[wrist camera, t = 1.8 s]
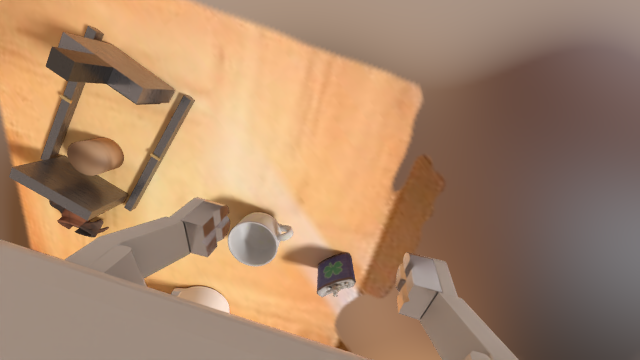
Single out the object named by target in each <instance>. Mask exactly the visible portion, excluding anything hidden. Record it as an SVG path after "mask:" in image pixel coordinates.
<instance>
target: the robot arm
mask: <svg viewBox="0 0 640 360" xmlns="http://www.w3.org/2000/svg"><path fill="white" fill-rule="evenodd" d="M228 213H229V208H228V206H227V205H224V204H220V203H217V202H213V201H210V200H205V199H202V198H199V197H197V198H194V199H192V200H191V201H190V202H188V203H187V204H186V205H184V206H183V207H182V208H181V209H179V210H178V211H177V212H175V213H174V214H173V215H172V216H170V217H163V218H160V219H157V220H153V221H150V222H147V223H143V224H140V225H137V226H134V227H130V228H127V229H124V230H120V231H117V232H114V233H110V234H107V235H104V236H101V237H98V238H97V239H95V240H94V241H92V242H91V243H89V244H88V245H86V246H85V247H83V248H82V249H80V250H79V251H77V252H76V253H74V254H73V255H71V256H69V257H68V258H66V259H65V260H63V259H60V258H57V257H53V256H50V255H47V254H44V253H41V252H38V251H35V250H32V249H29V248H25V247H22V246H19V245H16V244H13V243H10V242H7V241H4V240H1V239H0V360H372V359H369V358H366V357H363V356H360V355H357V354H354V353H350V352H347V351H344V350H341V349H338V348H335V347H332V346H329V345H326V344H323V343H319V342H316V341H313V340H310V339H307V338H304V337H301V336H298V335H295V334H292V333H289V332H286V331H282V330H279V329H276V328H273V327H270V326H267V325H264V324H261V323H258V322H255V321H252V320H248V319H245V318H242V317H239V316H236V315H233V314H230V310H229V304H228V302H227V300H226V299H225V298H224V296H223V295H221V294H220V293H219V292H217V291H215V290H213V289H211V288H208V287H203V286H194V287H189V288H175V289H173V291H172V293H171V294H168V293H165V292H162V291H159V290H156V289H153V288H149V287H147V285H146V283H145V280H144V278H146V277H147V276H149V275H151V274H153V273H155V272H157V271H159V270H161V269H162V268H164V267H166V266H168V265H170V264H172V263H174V262H175V261H177V260H179V259H181V258H183V257H185V256H187V255H188V254H190V253H194V254H197V255H201V256H205V257H208V256H209V255H210V254H211V253H212V252H213V251H214V249H215V248H216V247H217V242H218V241H220V240H222V239H224V237H225V236H226V235H227V233H228V231H229V228H230V219H229V218H228V217H227V214H228ZM403 262H404V264H402V265H400V266H399V269H398V271H397V276H396V288H397V290H398V291H399V292H400V293H399V295H398V297H397V304H398V313H399V314H402V315H406V316H409V317H412V318H415V319H418V320H420V322H421V324H422V326H423V328H424V329H425V331H426V333H427V334H428V336H429V338H430V340H431V341H432V343H433V345H434V346H435V348H436V350H437V352H438V353H439V355H440V357H441V358H442V360H518V359H517V358H516V357H515V355H514V354H513V353H512V352H511V351H510V350H509V349H508V348H507V347H506V346H505V345H504V344H503V342H502V341H501V340H500V339H499V338H498V337H497V336H496V335H495V334H494V333H493V332H492V330H491V329H490V328H489V327H488V326H487V325H486V324H485V323H484V322H483V321H482V320H481V319H480V318H479V316H478V315H477V314H476V313H475V312H474V311H473V310H472V309H471V308H470V307H469V306H468V305H467V303H466V302H465V301H464V300H463V299H461V298H458V296H457V293H456V290H455V287H454V284H453V281H452V278H451V275H450V272H449V269H448V266H447V263H446V262H445V261H441V260H437V259H433V258H428V257H424V256H420V255H416V254H412V253H409V252H407V253H406V254H405V255H404V258H403Z"/></svg>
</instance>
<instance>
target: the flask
mask: <svg viewBox="0 0 640 360" xmlns="http://www.w3.org/2000/svg"><path fill="white" fill-rule="evenodd" d="M317 282H318V284H317V294H318V295H319V296H321V297H324V296H326V295H328V294H330V293H332V292H333V294H334V295H333V296H338V295H336V294H338V292H339V291H340V289H344V288H350V287H353V286H354V284H355V282H356V281H355V276H354V270H353V264H352V258H351V255H350V254H349V253H341V254H337V255H334V256H332V257H330V258H328V259H326V260H324V261H322V262H321V263H319V265H318V280H317Z"/></svg>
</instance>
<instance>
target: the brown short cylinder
mask: <svg viewBox="0 0 640 360" xmlns="http://www.w3.org/2000/svg"><path fill="white" fill-rule="evenodd" d="M67 155H68V159H69V161H70V163H71V164H72V166H73V167H74V168H75V169H76V170H78V171H79V172H81V173H83V174H85V175H90V176H94V175H97V174H100V173H103V172H106V171H109V170H112V169H115V168H118V167H120V166H121V165H122V163H123V161H124V155H123V152H122V150H121V148H120V147H119V145H118V144H117V143H115V142H114V141H113V140H111V139H108V138H96V139H90V140H84V141H79V142H74V143H72V144H71V145H70V146H69V148H68V151H67Z"/></svg>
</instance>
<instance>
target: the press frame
mask: <svg viewBox="0 0 640 360" xmlns="http://www.w3.org/2000/svg"><path fill="white" fill-rule="evenodd" d="M103 35H104V34H103V33H102V32H100V31H99V30H98V29H96V28H93V27H90V26H88V28H87V30H86V33H85V36H84V37H85V38H89V39H93V40H97V41H101V40H102V38H103ZM84 85H85V82H72V81H68V84H67V86H66V89H65V92H64V95H62V94H60V97H61V98H62V100H61V103H60V106H59V109H58V112H57V114H56V117H55V120H54V123H53V126H52V128H51V131H50V134H49V137H48V140H47V143H46V145H45V148H44V151H43V154H42V157H41V159H43V160H42V161H38V162H33V163H29V164H24V165H20V166H15V167H12V170H11V173H10V176H9V177H10V178H12V179H13V180H15V181H17V182H19V183H20V184H22V185H24V186H26V187H28V188H29V189H31V190H33V191H35V192H37V193H38V194H40V195H42V196H44V197H46V198H47V199H49V200H51V201H53V202H54V203H56V204H58V205H60V206H62V207H63V208H65V209H67V210H69V211H71V212H72V213H74V214H76V215H78V216H80V217H81V218H83V219H85V220H87V221H88V220H90V219H92V218H94V217H96V216H98V215H100V214H102V213H104V212H106V211H108V210H110V209H112V208H113V207H115V206H117V205H119V204H121V203H123V202H125V200H126V198H127V196H128V194H127V193H126V192H124V191H122V190H121V189H119V188H117V187H116V186H114V185H112V184H111V183H109V182H107V181H106V180H104V179H102V178H101V177H99V176H97V175H94V176H90V175H85V174H83V173H81V172H79V171H78V170H76V169H75V168H74V167H73V166H72V164H71V163H70V161H69V159H68V157H66V156H60V157H57V156H58V153H59V150H60V148H61V145H62V142H63V140H64V137H65V135H66V132H67V129H68V127H69V124H70V121H71V119H72V116H73V114H74V111H75V108H76V106H77V103H78V100H79V98H80V95H81V93H82V90H83V87H84ZM194 101H195V100H194V99H193V98H191V97H190V96H188V95H184V96H183V98H182V100H181V102H180V104H179V106H178V107H177V109H176V111H175V113H174V115H173V117H172V119H171V121H170V123H169V124H168V126H167V128H166V130H165V132H164V134H163V136H162V138H161V139H160V141H159V143H158V145H157V147H156V149H155V151H154V153H151V154H150V156H151V158H150V160H149V162H148V164H147V166H146V168H145V170H144V171H143V173H142V175H141V177H140V179H139V181H138V183H137V185H136V187H135V188H134V190H133V192H132V194H131V196H130V198H129V200H128V202H127V203H126V205H125V207H124V208H126V209H128V210H129V211H132V210H133V209H135V208H136V206H137V205H138V203H139V201H140V199H141V197H142V195H143V194H144V192H145V190H146V188H147V186H148V185H149V183H150V181H151V179H152V177H153V175H154V174H155V172H156V170H157V168H158V166H159V165H160V163H161V161H162V159H163V157H164V156H165V154H166V152H167V150H168V148H169V146H170V145H171V143H172V141H173V139H174V137H175V136H176V134H177V132H178V130H179V128H180V126H181V125H182V123H183V121H184V119H185V117H186V116H187V114H188V112H189V110H190V108H191V107H192V105H193V103H194Z"/></svg>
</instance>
